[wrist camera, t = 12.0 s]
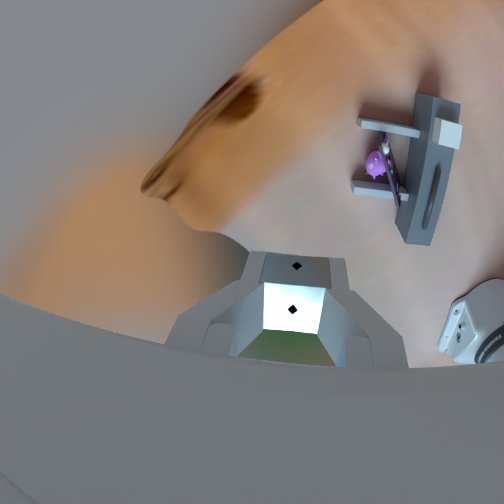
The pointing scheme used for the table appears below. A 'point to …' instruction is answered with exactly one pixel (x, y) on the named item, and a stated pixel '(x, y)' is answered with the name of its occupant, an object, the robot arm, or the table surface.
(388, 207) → the table surface
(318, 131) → the table surface
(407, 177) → the charging dock
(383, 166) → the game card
